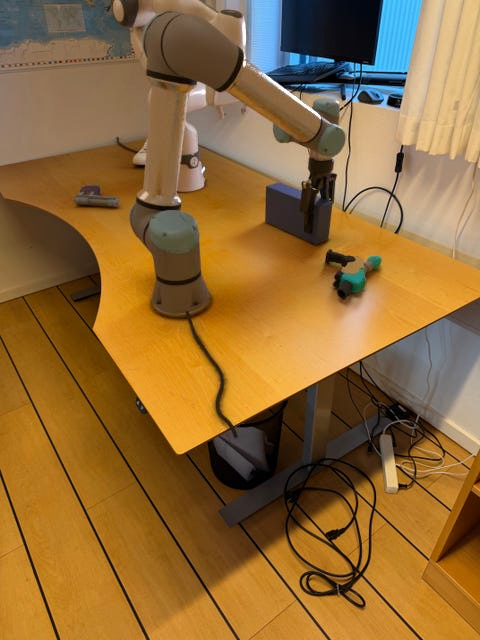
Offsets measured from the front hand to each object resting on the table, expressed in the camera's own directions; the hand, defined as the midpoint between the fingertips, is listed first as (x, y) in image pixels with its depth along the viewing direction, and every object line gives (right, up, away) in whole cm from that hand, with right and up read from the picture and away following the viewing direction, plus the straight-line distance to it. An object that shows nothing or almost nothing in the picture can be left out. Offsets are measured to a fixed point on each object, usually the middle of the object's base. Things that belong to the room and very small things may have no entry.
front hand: (314, 229), depth 153 cm
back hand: (-26, +39, +7) cm, 48 cm away
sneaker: (-66, +46, +71) cm, 107 cm away
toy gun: (-77, +17, +30) cm, 85 cm away
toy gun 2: (+5, -18, -18) cm, 26 cm away
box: (-5, +1, +7) cm, 9 cm away
